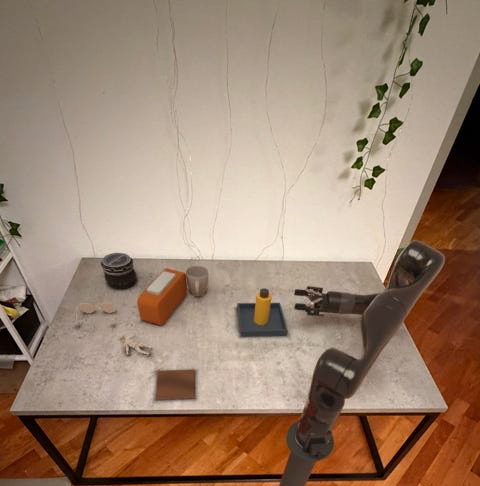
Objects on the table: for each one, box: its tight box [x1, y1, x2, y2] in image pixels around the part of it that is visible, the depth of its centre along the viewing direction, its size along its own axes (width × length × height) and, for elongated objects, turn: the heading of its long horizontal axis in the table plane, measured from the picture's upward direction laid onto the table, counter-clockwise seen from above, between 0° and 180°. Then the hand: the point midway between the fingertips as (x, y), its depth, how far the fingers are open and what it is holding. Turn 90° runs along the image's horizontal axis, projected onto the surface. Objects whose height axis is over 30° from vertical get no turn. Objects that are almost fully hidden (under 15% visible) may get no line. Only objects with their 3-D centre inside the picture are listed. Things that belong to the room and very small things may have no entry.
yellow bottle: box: [254, 288, 273, 325], centre depth 125 cm, size 6×6×13 cm
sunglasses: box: [75, 302, 116, 327], centre depth 125 cm, size 14×8×5 cm, turn 95°
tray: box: [236, 302, 288, 338], centre depth 130 cm, size 17×17×2 cm
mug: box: [185, 265, 209, 297], centre depth 136 cm, size 12×9×10 cm
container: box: [100, 252, 137, 290], centre depth 139 cm, size 13×13×10 cm
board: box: [155, 369, 196, 401], centre depth 109 cm, size 12×12×1 cm
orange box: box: [136, 267, 188, 326], centre depth 129 cm, size 24×8×11 cm, turn 161°
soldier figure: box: [118, 333, 153, 357], centre depth 117 cm, size 8×5×12 cm
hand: (294, 299), depth 122 cm, fingers open, 8 cm apart
